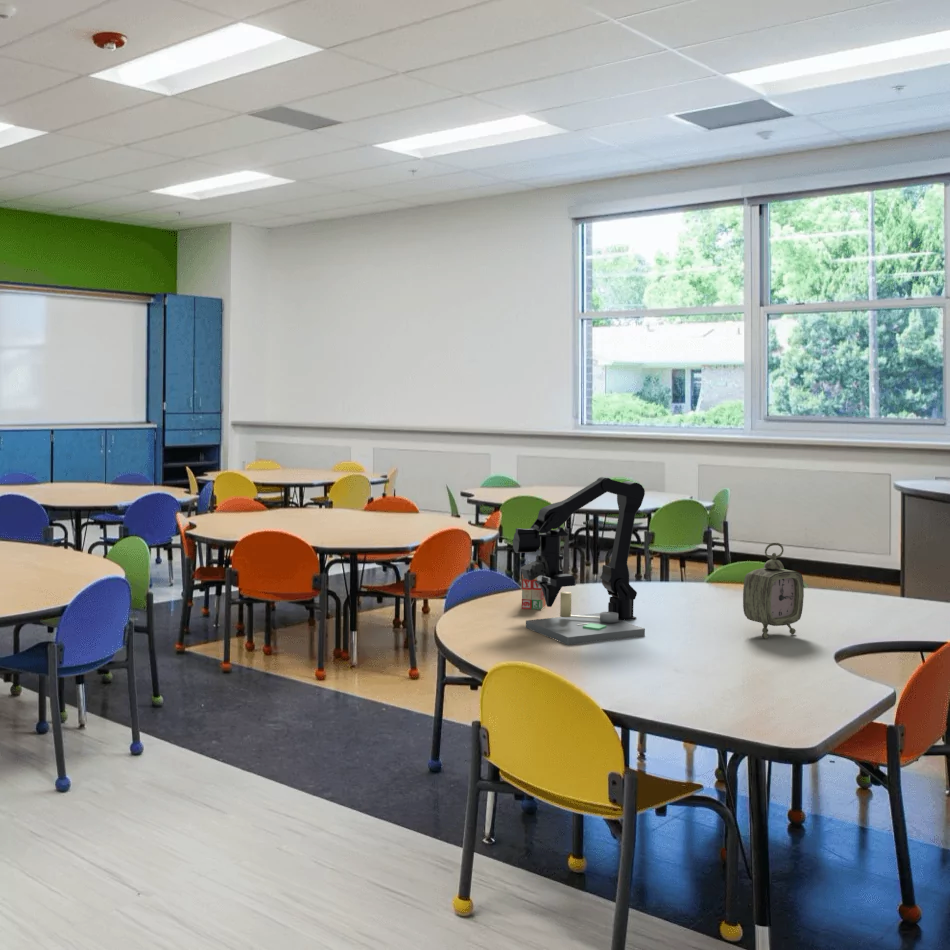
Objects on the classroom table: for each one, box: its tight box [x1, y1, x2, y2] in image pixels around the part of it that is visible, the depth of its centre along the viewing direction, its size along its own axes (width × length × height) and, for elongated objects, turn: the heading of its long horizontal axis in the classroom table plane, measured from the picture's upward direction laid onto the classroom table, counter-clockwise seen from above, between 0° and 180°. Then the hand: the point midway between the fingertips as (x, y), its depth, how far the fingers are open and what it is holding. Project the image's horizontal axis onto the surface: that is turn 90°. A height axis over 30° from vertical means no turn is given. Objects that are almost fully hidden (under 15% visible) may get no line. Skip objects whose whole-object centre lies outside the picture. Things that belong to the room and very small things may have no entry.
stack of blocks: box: [521, 574, 547, 610], centre depth 317 cm, size 21×6×12 cm, turn 167°
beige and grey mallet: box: [559, 591, 618, 623], centre depth 281 cm, size 16×5×7 cm, turn 77°
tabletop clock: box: [742, 542, 805, 640], centre depth 274 cm, size 14×9×25 cm, turn 122°
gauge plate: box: [525, 612, 646, 646], centre depth 277 cm, size 24×22×2 cm
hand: (549, 606), depth 288 cm, fingers closed
